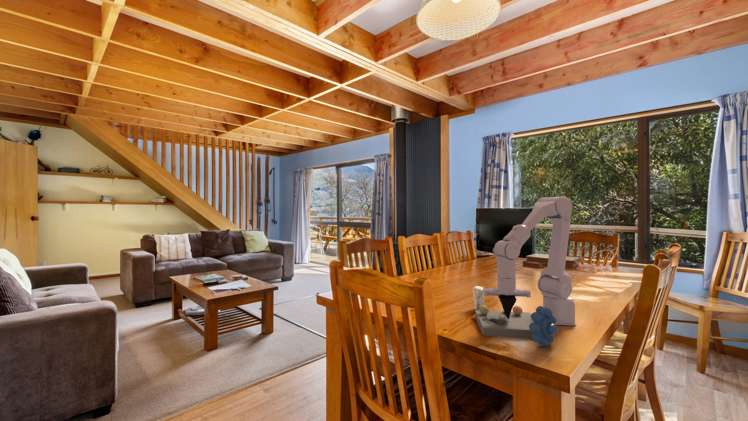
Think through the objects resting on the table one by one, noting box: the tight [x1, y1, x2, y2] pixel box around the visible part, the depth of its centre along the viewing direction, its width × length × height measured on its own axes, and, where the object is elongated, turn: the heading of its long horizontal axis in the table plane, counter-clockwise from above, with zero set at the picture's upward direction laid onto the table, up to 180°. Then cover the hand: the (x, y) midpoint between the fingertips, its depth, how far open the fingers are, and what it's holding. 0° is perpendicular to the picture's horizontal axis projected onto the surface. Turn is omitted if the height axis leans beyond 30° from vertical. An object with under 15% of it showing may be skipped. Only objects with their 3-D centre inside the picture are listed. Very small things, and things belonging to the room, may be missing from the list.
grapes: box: [529, 305, 559, 348], centre depth 93 cm, size 12×7×12 cm, turn 122°
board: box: [474, 309, 533, 339], centre depth 109 cm, size 19×18×2 cm
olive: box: [479, 304, 490, 315], centre depth 115 cm, size 3×3×3 cm
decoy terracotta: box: [512, 305, 524, 315], centre depth 114 cm, size 3×3×3 cm
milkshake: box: [472, 285, 486, 311], centre depth 128 cm, size 4×5×10 cm
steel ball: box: [498, 312, 508, 322], centre depth 108 cm, size 3×3×3 cm
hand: (506, 317), depth 107 cm, fingers closed, pressing on steel ball
